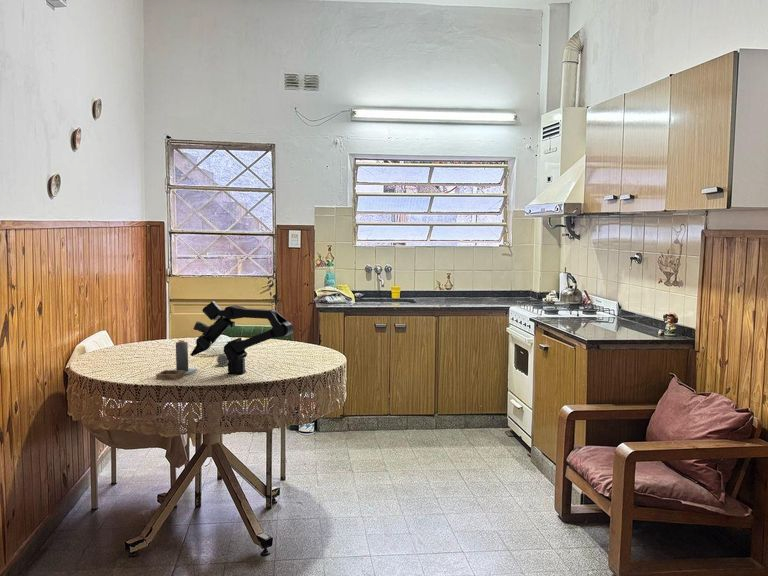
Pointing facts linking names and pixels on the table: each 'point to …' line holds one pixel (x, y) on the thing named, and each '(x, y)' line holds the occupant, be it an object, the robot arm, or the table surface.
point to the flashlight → (222, 360)
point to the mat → (189, 371)
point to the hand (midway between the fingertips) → (193, 353)
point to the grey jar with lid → (182, 355)
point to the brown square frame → (170, 374)
